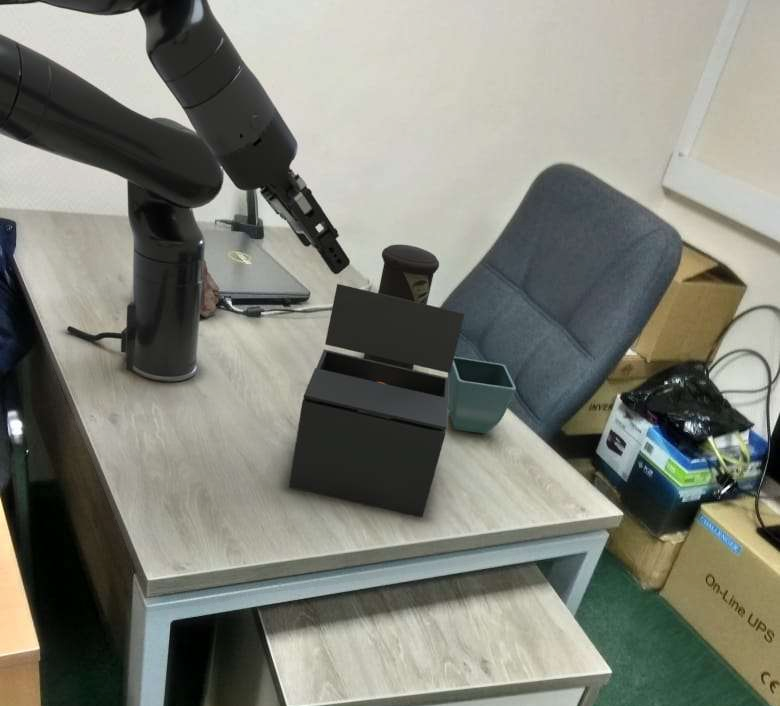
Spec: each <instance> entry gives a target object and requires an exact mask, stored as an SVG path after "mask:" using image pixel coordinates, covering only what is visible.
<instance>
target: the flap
mask: <svg viewBox="0 0 780 706" xmlns="http://www.w3.org/2000/svg"><path fill="white" fill-rule="evenodd" d="M464 317H465V313H464V312H460V311H456V310H453V309H452V310H451V309H447V308H443V307H438V306H435V305H430V304H427V305H426V304H422V303H418V302H414V301H409V300H405V299H401V298H396V297H392V296H388V295H383V294H379V293H378V292H376V291H375V292H374V291H370V290H366V289H361V288H358V287H353V286H349V285H344V284H340V283H337V284H336V288H335V292H334V298H333V303H332V307H331V312H330V318H329V324H328V328H327V332H326V337H325V343H324V345H326V346H330V347H334V348H339V349H343V350H347V351H351V352H357V353H359V354H363V355H364V354H369V355H373V356H377V357H382V358H386V359H390V360H395V361H399V362H403V363H408V364H412V365H414V366H417V367H421V368H426V369H431V370H434V371H439V372H443V373H447V374H448V373H450V372H451V368H452V364H453V360H454V357H456V356H455V355H456V351H457V348H458V343H459V339H460V335H461V330H462V327H463V322H464Z"/></svg>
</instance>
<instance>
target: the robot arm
mask: <svg viewBox="0 0 780 706" xmlns="http://www.w3.org/2000/svg"><path fill="white" fill-rule="evenodd" d="M37 3H38V4H40V3H42V4H46V5H49V6H51V7H56V8H59V9H63V10H64V9H65V10H69V11H74V12H77V13H78V12H79V13H82V14H83V13H84V14H89V15H93V16H94V15H95V16H118V15H119V16H120V15H125V14H127V13H131V12H133V11H136V10H138V13H139V15H140V16H141V19H142V20H143V23H144V27H145V52H146V56H147V58H148V60H149V62H150V63H151V66H152V67H153V69H154V71H155V72H156V73H157V75H158V76H159V78H160V79H161V80H162V82H163V83H164V84H165V86H166V87H167V88H168V90H169V92H170V93H171V94H172V95H173V97H174V98H175V100H176V101H177V102H178V104H179V105H180V107H181V108H182V110H183V111H184V113H185V115H186V117H187V118H188V120H189V122H190V124H191V126H192V127H193V128H194V130H193V129H191V128H189V127H188V126H186V125H183V124H182V123H179V122H178V121H175V120H173V119H171V118H167V117H153V118H151V117H148V116H145V115H144V114H142V113H139V112H137V111H135V110H133V109H131V108H130V107H128V106H126V105H124V104H123V103H121V102H120V101H118V100H116V99H115V98H114V97H112V96H110V95H109V94H108V93H106V92H105V91H103V90H102V89H100V88H99V87H97V86H96V85H94V84H92V83H91V82H89V81H88V80H86V79H85V78H83V77H81V76H80V75H78V74H77V73H75V72H73V71H71V70H70V69H68V67H67V68H66V67H65V66H63V65H61V64H60V63H58V62H57V61H54V60H53V59H51V58H49V57H47V56H46V55H44V54H42V53H40V52H38V51H37V50H34V49H33V48H30V47H28V46H26V45H25V44H22V43H20V42H18V41H16V40H15V39H12V38H10V37H9V36H6V35H4V34H2V33H0V135H2V136H4V137H6V138H9V139H11V140H14V141H16V142H19V143H22V144H24V145H27V146H30V147H33V148H36V149H39V150H42V151H44V152H47V153H49V154H52V155H56V156H59V157H60V158H64V159H68V160H71V161H73V162H76V163H80V164H83V165H86V166H90V167H94V168H97V169H100V170H103V171H106V172H108V173H112V174H113V175H116V176H118V177H120V178H123V179H125V180H126V183H127V184H126V187H127V191H126V192H127V215H128V216H127V217H128V222H129V226H130V229H131V232H132V238H133V252H132V254H133V257H132V295H131V296H132V298H131V299H132V300H131V301H130V302H129V303H128V304H127V306H126V326H125V328H124V329H123V330H122V331H121V332H114V331H113V332H110V331H107V332H106V331H105V332H100V333H98V334H90V333H88V332H85V331H83V330H80V329H78V328H75V327H73V326H71V325H68V327H67V328H66V330H67V332H69V333H72V334H74V335H75V336H77V337H80V338H83V339H85V340H88V341H93V342H97V341H101V340H103V339H118V340H120V352H121V353H123V354H125V369H127V370H131V371H133V372H134V373H136V374H137V375H138V376H141V377H143V378H146V379H148V380H154V381H159V382H180V381H181V382H182V381H185V380H188V379H191V378H192V377H194V376H195V375H196V373H197V367H198V366H197V365H198V364H197V361H198V345H199V330H200V318H201V317H200V316H201V314H200V305H201V292H202V277H203V264H204V260H205V250H206V249H205V248H206V240H205V235H204V234H203V231H202V230H201V228H200V226H199V224H198V222H197V219H196V217H195V214H194V209H197V208H201V207H204V206H206V205H207V204H210V203H211V202H212V201H213V200H215V198H217V196H218V195H219V194H220V192H221V191H222V188H223V185H224V178H225V177H224V175H225V174H226V175H227V176H228V178H229V179H230V180H231V182H232V184H234V186H235V187H236V188H237V189H239V190H240V191H246V192H249V191H254V190H258V189H260V190H259V194H260V195H261V197H262V198H263V199H264V200H265V202H267V204H268V205H269V207H270V208H271V209H272V210H273V211H274V213H275V214H276V215H279V217H280V219H281V220H284V221H286V223H287V224H288V225H289V227H290V228H291V230H292V231H293V233H294V234H295V236H296V237H297V239H298V240H299V241H300V243H301V244H302V245H303V246H304V247H306V248H307V247H310V246H311V247H312V248H313V249H315V250H316V251H317V252H318V254H319V255H320V257H321V259H322V260H323V261H324V263H325V264H326V265H327V268H328V269H329V270H330V272H332V274H333V275H338V274H341V272H342V271H343V270H345V269H346V268H347V267H349V265H350V262H351V261H350V258H349V257H348V255H347V253H346V252H345V251H344V249H343V248H342V246H341V244H340V243H339V241H338V240H337V238H339V237H340V234H339V231H338V230H337V228H335V226H334V225H333V224H332V222H331V220H330V219H329V217H328V216H327V215H326V213H325V211H324V210H323V208H322V206H321V205H320V203H319V202H318V201H317V200H316V198H315V197H314V195H313V192H312V189H310V187H309V188H308V185H307V183H306V182H305V181H304V179H303V178H302V176H301V175H300V174H299V173H297V174H295V172H294V171H293V169H292V168H291V164H292V163H293V161H294V160H295V158H296V156H297V154H298V149H299V148H298V141H297V139H296V138H295V136H294V134H293V133H292V131H291V130H290V127H288V125H287V123H286V121H285V120H284V119H283V117H282V115H281V113H280V112H279V111H278V109H277V107H276V105H275V104H274V102H273V101H272V99H271V97H270V96H269V94H268V93H267V90H265V88H264V86H263V85H262V83H261V82H260V81H259V79H258V78H257V77H256V75H255V73H254V72H253V71H252V70H251V69H250V67H248V65H247V64H246V63H245V61H244V60H243V58H242V56H241V55H240V53H239V51H238V50H237V48H236V46H235V45H234V44H233V42H232V41H231V39H230V37H229V36H228V33H226V31H225V30H224V28H223V27H222V25H221V24H220V22H219V20H217V18H216V16H215V15H214V13H213V11H212V9H211V6H210V3H209V1H208V0H0V6H12V5H13V6H14V5H29V4H37ZM318 225H320V226H321V227H322V228H323V229H321V230H320V231H319V230H318V229H317V228H316V227H318Z"/></svg>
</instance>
